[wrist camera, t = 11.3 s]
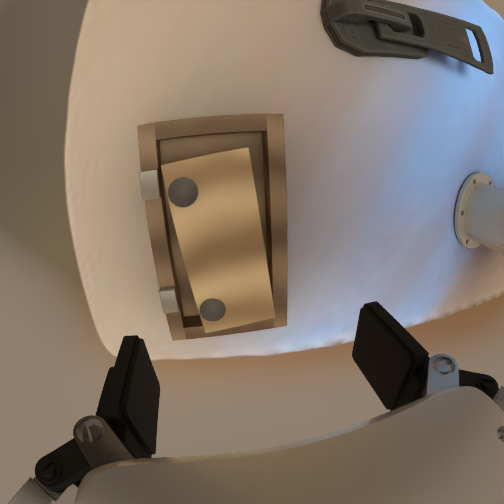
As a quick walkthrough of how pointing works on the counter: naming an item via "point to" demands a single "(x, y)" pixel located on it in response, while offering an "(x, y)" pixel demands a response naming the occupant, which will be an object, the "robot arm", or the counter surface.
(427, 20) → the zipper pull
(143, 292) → the counter surface
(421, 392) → the robot arm
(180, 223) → the tan rectangular block
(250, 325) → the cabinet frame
